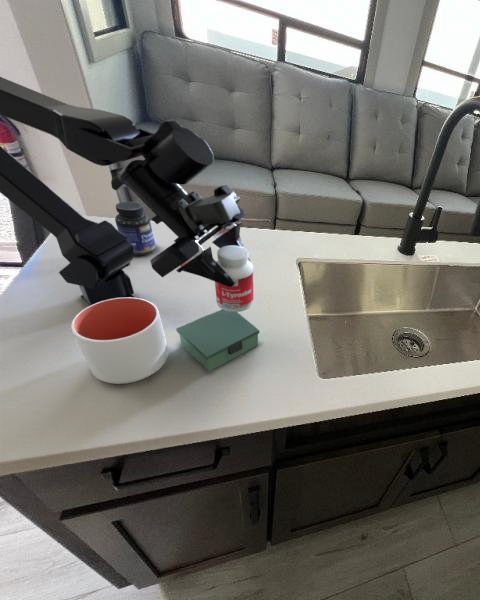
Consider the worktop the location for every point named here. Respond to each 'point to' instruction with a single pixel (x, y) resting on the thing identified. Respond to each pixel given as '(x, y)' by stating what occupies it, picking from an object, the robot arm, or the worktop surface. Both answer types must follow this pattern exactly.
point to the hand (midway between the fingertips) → (241, 275)
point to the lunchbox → (218, 338)
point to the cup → (121, 339)
